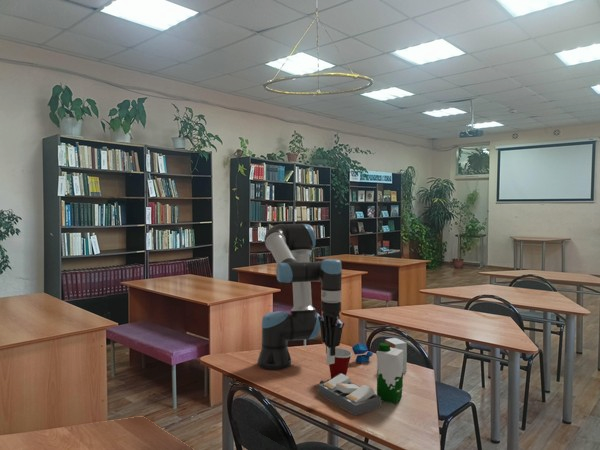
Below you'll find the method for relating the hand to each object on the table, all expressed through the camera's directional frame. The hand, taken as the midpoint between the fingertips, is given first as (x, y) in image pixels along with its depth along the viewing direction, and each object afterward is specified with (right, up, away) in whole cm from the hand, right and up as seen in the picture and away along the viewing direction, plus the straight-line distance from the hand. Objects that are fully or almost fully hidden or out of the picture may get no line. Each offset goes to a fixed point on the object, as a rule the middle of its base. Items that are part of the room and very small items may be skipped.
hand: (330, 363), depth 157 cm
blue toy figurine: (+17, -12, +38) cm, 43 cm away
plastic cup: (+5, -12, +16) cm, 20 cm away
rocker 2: (+6, -9, -3) cm, 12 cm away
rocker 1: (+3, -9, +2) cm, 10 cm away
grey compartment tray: (+5, -12, -1) cm, 13 cm away
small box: (+31, -12, +27) cm, 43 cm away
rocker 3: (+10, -9, -9) cm, 16 cm away
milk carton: (+22, -13, -1) cm, 25 cm away
